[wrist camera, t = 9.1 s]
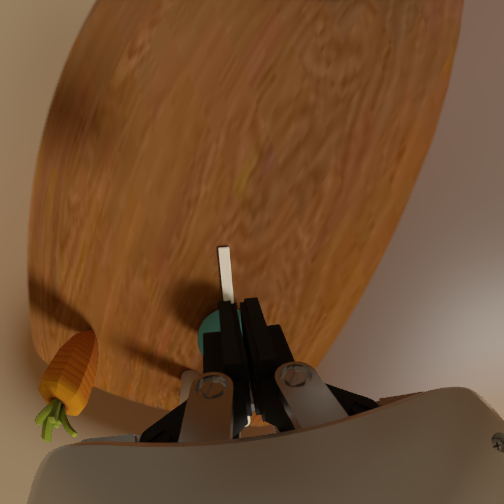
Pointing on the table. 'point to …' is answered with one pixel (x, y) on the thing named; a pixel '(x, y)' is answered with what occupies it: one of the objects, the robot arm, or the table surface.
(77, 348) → the carrot
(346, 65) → the table surface
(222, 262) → the lane line
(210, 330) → the ball
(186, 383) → the white cylinder rod
